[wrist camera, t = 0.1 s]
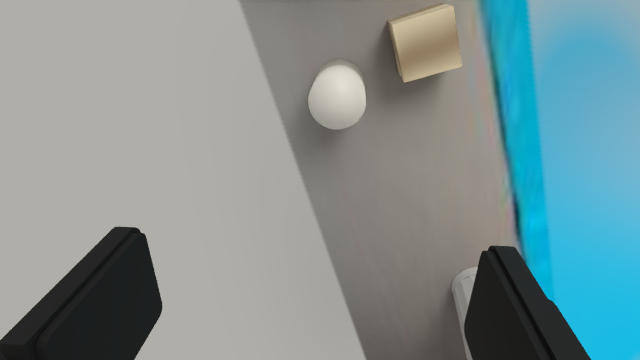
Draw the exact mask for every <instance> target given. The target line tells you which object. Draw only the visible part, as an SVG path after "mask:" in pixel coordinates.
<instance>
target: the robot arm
mask: <svg viewBox="0 0 640 360" xmlns="http://www.w3.org/2000/svg"><path fill="white" fill-rule="evenodd" d="M161 311H162V301H161V297H160V293H159V288H158V284H157V280H156V276H155V272H154V268H153V264H152V260H151V256H150V251H149V247H148V243H147V239H146V236H145V234H143V233H141V232H140V230H139V229H138V228H133V227H115V228H113V229H112V230H111V231H110V232H109V233H108V234H107V235H106V236H105V237H104V238H103V239H102V240H101V241H100V242H99V243H98V244H97V245H96V246H95V247H94V248H93V249H92V250H91V251H90V252H89V253H88V254H87V255H86V256H85V257H84V258H83V259H82V260H81V261H80V262H79V263H78V264H77V265H76V266H75V267H74V268H73V269H72V270H71V271H70V272H69V273H68V274H67V275H66V276H65V277H64V278H63V279H62V280H61V281H60V282H59V283H58V284H56V285H55V286H54V288H53V289H52V290H50V292H49V293H47V294H46V295H45V296H44V297H43V298H42V299H41V300H40V301H39V302H38V303H37V304H36V305H35V306H34V307H33V308H32V309H31V311H29V312H28V313H27V314H26V315H25V316H24V317H23V318H22V319H21V320H20V321H19V322H18V323H17V324H16V325H15V326H14V327H13V328H12V329H11V330H10V331H9V332H8V333H7V334H6V335H5V336H4V337H3V338H2V339H1V340H0V360H134V359H135V357H136V355H137V354H138V352H139V351H140V348H141V347H142V346H143V344H144V342H145V340H146V339H147V337H148V335H149V334H150V332H151V330H152V329H153V327H154V325H155V324H156V322H157V320H158V318H159V317H160V314H161ZM464 334H465V338H466V341H467V344H468V347H469V350H470V354H471V357H472V360H591V359H590V357H589V356H588V355H587V353H586V351H585V350H584V348H583V347H582V345H581V343H580V342H579V340H578V339H577V337H576V336H575V334H574V332H573V331H572V329H571V328H570V326H569V325H568V323H567V322H566V320H565V319H564V317H563V315H562V314H561V312H560V311H559V309H558V308H557V306H556V305H555V304H554V303H553V302H552V301H551V300H549V299H547V297H546V295H545V294H544V292H543V291H542V289H541V287H540V286H539V284H538V283H537V281H536V280H535V278H534V276H533V275H532V273H531V272H530V270H529V268H528V267H527V265H526V264H525V262H524V260H523V259H522V257H521V256H520V254H519V252H518V251H517V249H516V248H515V247H509V246H490V247H489V249H488V251H483V252H482V253H481V256H480V260H479V265H478V269H477V273H476V277H475V281H474V285H473V289H472V293H471V297H470V301H469V306H468V310H467V314H466V318H465V322H464Z"/></svg>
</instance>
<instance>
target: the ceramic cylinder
mask: <svg viewBox="0 0 640 360" xmlns="http://www.w3.org/2000/svg"><path fill="white" fill-rule="evenodd" d="M308 104H309V109H310V112H311V114H312V116H313V117H314V119H315V120H316V121H317V122H318V123H319V124H321V125H322V126H324V127H326V128H329V129H335V130H340V129H345V128H348V127H350V126H352V125H354V124H355V123H356V122H357V121H358V120H359V119H360V118H361V117H362V115H363V113H364V110H365V107H366V95H365V86H364V78H363V74H362V72H361V70H360V69H359V68H358V66H357V65H356V64H354V63H353V62H351V61H349V60H346V59H334V60H331V61H329V62H327V63H326V64H324V65H323V66H322V67H321V69H320V70H319V72H318V74H317V76H316V78H315V81H314V83H313V86H312V88H311V90H310V93H309V98H308Z"/></svg>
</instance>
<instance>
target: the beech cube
mask: <svg viewBox="0 0 640 360" xmlns="http://www.w3.org/2000/svg"><path fill="white" fill-rule="evenodd" d="M387 21H388V26H389V31H390V35H391V40H392V45H393V49H394V54H395V58H396V63H397V68H398V72H399V74H400V76H401V78H402V80H403V81H404V83H405V82H409V81H412V80H416V79H420V78H423V77H427V76H430V75H434V74H437V73H441V72H444V71H448V70H451V69H455V68H458V67H462V63H461V56H460V49H459V42H458V35H457V28H456V21H455V14H454V7H453V5H448V4H442V3H440V4H437V5H434V6H431V7H427V8H424V9H421V10H418V11H415V12H412V13H409V14H406V15H402V16H399V17H396V18H393V19H390V20H387Z"/></svg>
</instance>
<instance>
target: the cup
mask: <svg viewBox="0 0 640 360" xmlns="http://www.w3.org/2000/svg"><path fill="white" fill-rule="evenodd" d="M477 269H478V267H472V268H468V269H466V270H464V271H462V272H460V273H459V274H458V275H457V276H456V277H455V278H454V280H453V282H452V285H451V289H452V293H453V296H454V300H455V305H456V309H457V314H458V318H459V323H460V328H461V332H462V337H463V341H464V346H465V351H466V356H467V360H472V357H471V354H470V350H469V347H468V344H467V341H466V338H465V334H464V322H465V318H466V314H467V310H468V306H469V301H470V297H471V293H472V289H473V285H474V281H475V277H476V273H477Z"/></svg>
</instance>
